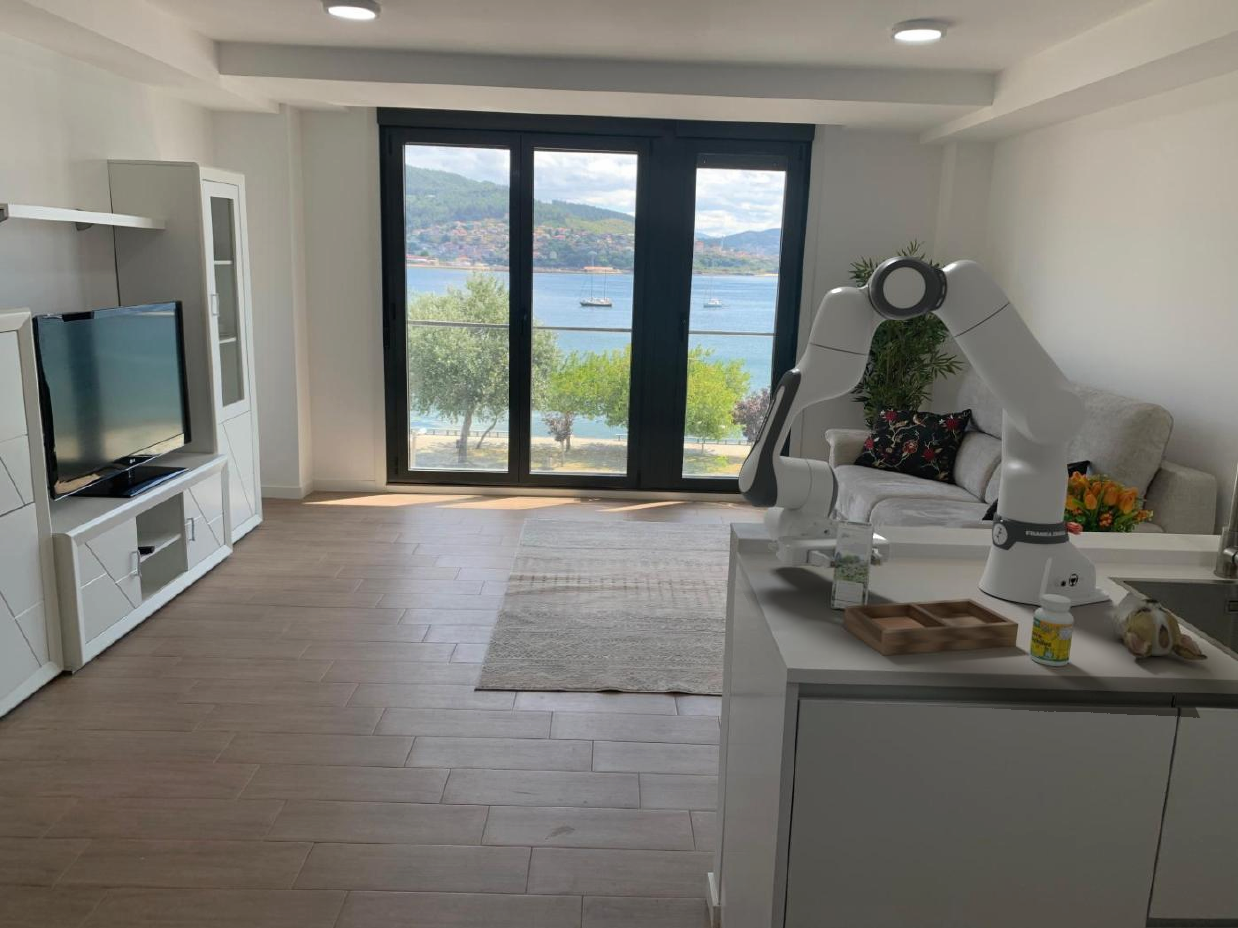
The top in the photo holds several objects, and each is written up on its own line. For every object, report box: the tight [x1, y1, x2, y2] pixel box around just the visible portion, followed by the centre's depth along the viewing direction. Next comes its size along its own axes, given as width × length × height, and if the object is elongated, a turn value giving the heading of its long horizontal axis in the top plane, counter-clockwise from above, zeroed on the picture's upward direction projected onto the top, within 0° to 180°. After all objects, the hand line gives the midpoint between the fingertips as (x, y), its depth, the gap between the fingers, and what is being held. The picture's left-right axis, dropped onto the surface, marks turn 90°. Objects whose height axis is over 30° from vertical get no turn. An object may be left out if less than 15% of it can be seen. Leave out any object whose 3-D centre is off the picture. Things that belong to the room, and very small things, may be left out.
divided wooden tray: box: [843, 598, 1019, 656], centre depth 149 cm, size 23×12×4 cm, turn 106°
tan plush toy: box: [1110, 591, 1209, 661], centre depth 146 cm, size 11×9×15 cm
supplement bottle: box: [1029, 594, 1075, 667], centre depth 141 cm, size 5×5×10 cm
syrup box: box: [830, 519, 875, 611], centre depth 161 cm, size 6×6×14 cm
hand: (855, 562), depth 160 cm, fingers closed on syrup box, 7 cm apart
